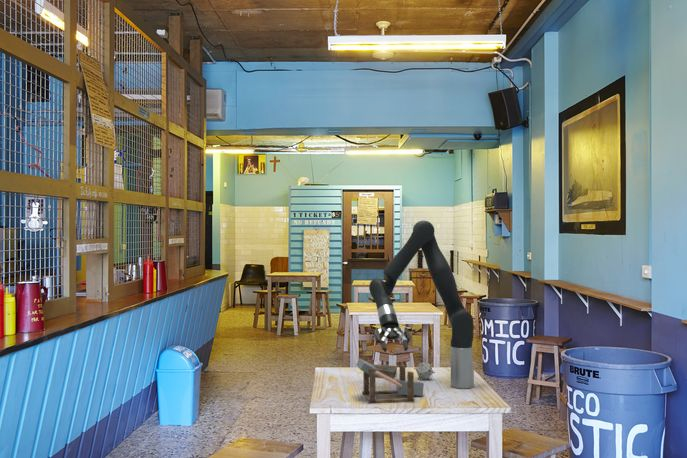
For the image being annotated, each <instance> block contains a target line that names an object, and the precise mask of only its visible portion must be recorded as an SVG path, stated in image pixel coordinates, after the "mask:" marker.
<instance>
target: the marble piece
mask: <svg viewBox="0 0 687 458" xmlns="http://www.w3.org/2000/svg"><path fill="white" fill-rule="evenodd" d="M371 364H372V363H371ZM372 365H373V366H374V367H375V368H376V369H377V371H379V372H381V373H383V374H385V375H387V376H389V377H391V378H393V379H395V377H396V374H397V372H398V371H397V370H398V367H397V366H396V365H386V364H384V365H383V364H372ZM376 378H378V379H383V380H385V379H384V378H382V377H380V376H378V375H375V379H376Z"/></svg>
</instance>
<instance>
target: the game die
mask: <svg viewBox="0 0 687 458" xmlns="http://www.w3.org/2000/svg"><path fill="white" fill-rule="evenodd" d="M431 364H432V361H430V362H422V360H421V361H420V363H419V365H417V367H415V368H413V370H415V371H416V374H417V377H418V378H417V380H419V379H424V380H427V381H430V380H429V379H430V377H431V376H432V375H433V374H436V371H434V370H433V368H432V365H431Z"/></svg>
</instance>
